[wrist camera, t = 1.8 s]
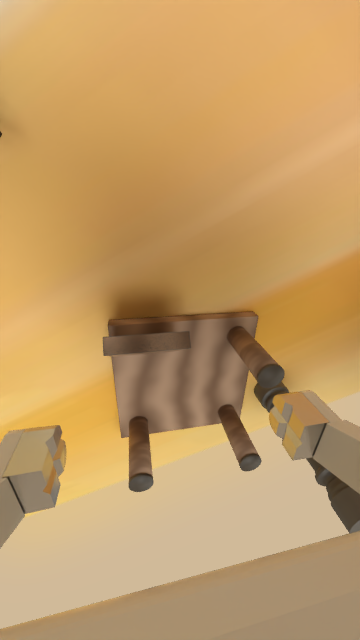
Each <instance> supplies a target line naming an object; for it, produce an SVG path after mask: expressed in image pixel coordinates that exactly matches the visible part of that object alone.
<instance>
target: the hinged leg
mask: <svg viewBox="0 0 360 640" xmlns="http://www.w3.org/2000/svg"><path fill="white" fill-rule="evenodd" d="M190 348H191V343H190V332H189V331H182V332H168V333H154V334H140V335H126V336H113V337H103V352H104V356H112V357H116V356H127V355H139V354H150V353H162V352H173V351H180V350H184V349H190Z"/></svg>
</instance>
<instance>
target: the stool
mask: <svg viewBox="0 0 360 640" xmlns="http://www.w3.org/2000/svg"><path fill="white" fill-rule="evenodd" d="M257 322H258V315H257V314H255V313H254V312H237V313H221V314H204V315H187V316H170V317H153V318H137V319H120V320H109V322H108V331H109V337H113V336H126V335H140V334H154V333H168V332H182V331H189V332H190V343H191V348H190V349H184V350H180V351H173V352H162V353H150V354H139V355H127V356H116V357H112V364H113V372H114V380H115V388H116V397H117V405H118V413H119V422H120V430H121V438H125V437H129V488H130V490H132V491H135V492H141V491H145V490H147V489H149V488H150V487H151V486H152V485H153V476H152V465H151V453H150V442H149V434H152V433H159V432H165V431H172V430H179V429H186V428H192V427H199V426H206V425H213V424H219V423H222V425H223V427H224V430H225V432H226V434H227V437H228V439H229V441H230V444H231V446H232V448H233V451H234V453H235V455H236V458H237V460H238V462H239V466H240V468H241V469H242V470H243V471H251V470H254V469H256V468H257V467H258V466H259V465H260V463H261V458H260V456H259V455H258V453H257V451H256V449H255V447H254V445H253V444H252V441H251V440H250V438H249V436H248V434H247V432H246V430H245V428H244V426H243V424H242V422H241V420H240V414H241V409H242V403H243V398H244V393H245V387H246V382H247V376H248V371H249V370H250V372H251V373H252V374H253V376H254V377H255V378H256V380H257V382H258V383H259V385H260V386H261V387H263V388H272V387H275V386H276V385H278V384H279V383H280V382H281V381H282V380H283V378H284V370H283V368H282V367H281V366H280V365H278V364H277V363H276V361H275V360H274V359H273V358H272V357H271V356H270V355H269V354H268V353H267V352H266V351H265V350H264V349H263V348H262V347H261V345H260V344H259V343H258V342H257V341H256V340H255V339H254V338H255V333H256V327H257Z"/></svg>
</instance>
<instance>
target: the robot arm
mask: <svg viewBox="0 0 360 640" xmlns="http://www.w3.org/2000/svg"><path fill="white" fill-rule="evenodd" d="M272 403H273V404H274V407H273V408H272V409H271V410H270V414H269V420H270V425H271V427H272V429H273V431H274V432H275V434H276V435H277V436H279V437H280V438H282V439H283V440H282V445H283V446H284V448H285V449H286V451H287V453H288V454H289V456H290V457H291V459H292V460H298V459H304V458H311V457H313V459H314V460H316V461H317V462H318V463H319V464H321V465H322V466H323V467H325V468H326V469H327V470H329V471H330V472H331V473H333V474H334V475H335V476H337V477H338V478H339V479H340V480H342V481H343V482H344V483H346V484H347V485H348V486H350V487H351V488H352V489H354V490H355V491H356V492H358V493H359V494H360V427H359V426H357V425H355V424H353V423H351V422H348V421H347V420H344V421H342V420H341V419H340V418H339V417H338V416H337V415H336V414H335V413H334V412H333V411H332V410H331V409H330V408H329V407H328V406H327V405H326V404H325V403H324V402H323V401H322V400H321V399H320V398H319V397H318V396H317V395H316V394H315V393H314V392H313V391H311V390H307V391H300V392H292V393H286V394H279V395H276V396H275V397H274V398H273V402H272ZM61 434H62V430H61V427H60V426H59V425H55V426H46V427H37V428H28V429H22V430H13V431H9V432H8V433H7V434H6V435H5V436H4V438H3V440H2V442H1V443H0V548H1V547H2V546H3V544H4V543H5V541H6V540H7V539H8V538H9V536H10V535H11V534H12V532H13V531H14V530H15V528H16V527H17V526H18V524H19V523H20V521H21V520H22V519H23V518H24V516H25V515H24V514H27V513H31V512H35V511H40V510H44V509H49V508H53V507H55V505H56V501H57V496H58V492H59V488H60V482H59V479H58V477H59V476H60V475H61V473H62V472H63V471H64V467H65V463H66V445H65V441H63V440H62V439H60V438H61ZM0 640H360V531H357V532H353V533H349V534H346V535H342V536H339V537H335V538H331V539H328V540H324V541H320V542H317V543H313V544H309V545H306V546H302V547H298V548H295V549H291V550H287V551H284V552H280V553H276V554H273V555H269V556H266V557H262V558H258V559H254V560H251V561H247V562H244V563H240V564H236V565H233V566H229V567H225V568H222V569H218V570H214V571H211V572H207V573H203V574H200V575H196V576H193V577H189V578H185V579H182V580H178V581H174V582H171V583H167V584H163V585H160V586H156V587H152V588H149V589H145V590H142V591H138V592H134V593H130V594H127V595H123V596H119V597H116V598H112V599H108V600H105V601H101V602H98V603H94V604H90V605H87V606H83V607H80V608H76V609H72V610H69V611H65V612H61V613H57V614H54V615H51V616H47V617H43V618H39V619H36V620H32V621H28V622H25V623H21V624H17V625H14V626H10V627H6V628H3V629H0Z"/></svg>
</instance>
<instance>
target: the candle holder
mask: <svg viewBox="0 0 360 640" xmlns="http://www.w3.org/2000/svg"><path fill="white" fill-rule="evenodd" d="M254 393H255V395H256V397H257V398H258V400H259V401H260V403H261V404H262V406H263V407H264V408H266V409H267V411H268V412H269V413H270V410H271V409H272V408H273V407H274V404H273V403H272V402H273V398H274V397H275V396H276V395H279V394H286V393H289V391H288V389H287V388H286V387H285V386H284V384H283V383H282V382H280V383H279V384H278V385H276V386H275V387H272V388H263V387H261V386H260V385H259V383H257V385H256V386H255V389H254ZM306 459H307V460H308V462H309V463H310V465H311V466H312V467H313V469H314V470H315V474H316V475H315V478H316V481H317V482H318V484H320V485H322V486H326V489H327V492H328V497H329V500H330V501H331V506H332V507H333V509H334V511H335V512H336V514H337V515H338V517H339V518H340V520H341V521H342V523H343V524H344V525H345V527H346V529H347V530H348V532H349V533H353V532H357V531H360V494H359V493H358V492H356V491H355V490H354V489H352V488H351V487H350V486H348V485H347V484H346V483H344V482H343V481H342V480H340V479H339V478H338V477H337V476H335V475H334V474H333V473H331V472H330V471H329V470H327V469H326V468H325V467H323V466H322V465H321V464H319V463H318V462H317V461H316V460H314V459H313V457H311V458H306Z"/></svg>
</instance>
